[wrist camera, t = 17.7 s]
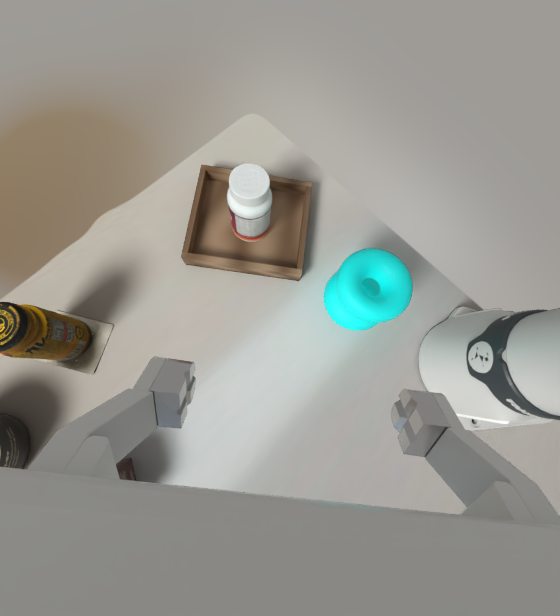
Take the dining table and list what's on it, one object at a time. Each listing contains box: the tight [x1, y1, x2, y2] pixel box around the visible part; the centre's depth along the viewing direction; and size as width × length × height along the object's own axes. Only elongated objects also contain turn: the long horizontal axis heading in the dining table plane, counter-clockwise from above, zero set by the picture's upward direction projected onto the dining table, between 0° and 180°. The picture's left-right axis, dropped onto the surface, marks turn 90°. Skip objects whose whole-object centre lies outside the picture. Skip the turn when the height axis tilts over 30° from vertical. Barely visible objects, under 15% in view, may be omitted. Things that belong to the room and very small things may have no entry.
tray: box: [181, 165, 312, 281], centre depth 45 cm, size 18×16×3 cm
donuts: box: [324, 248, 412, 330], centre depth 40 cm, size 10×10×10 cm
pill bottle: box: [227, 163, 272, 242], centre depth 41 cm, size 6×6×11 cm
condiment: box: [0, 302, 113, 375], centre depth 35 cm, size 7×8×12 cm
